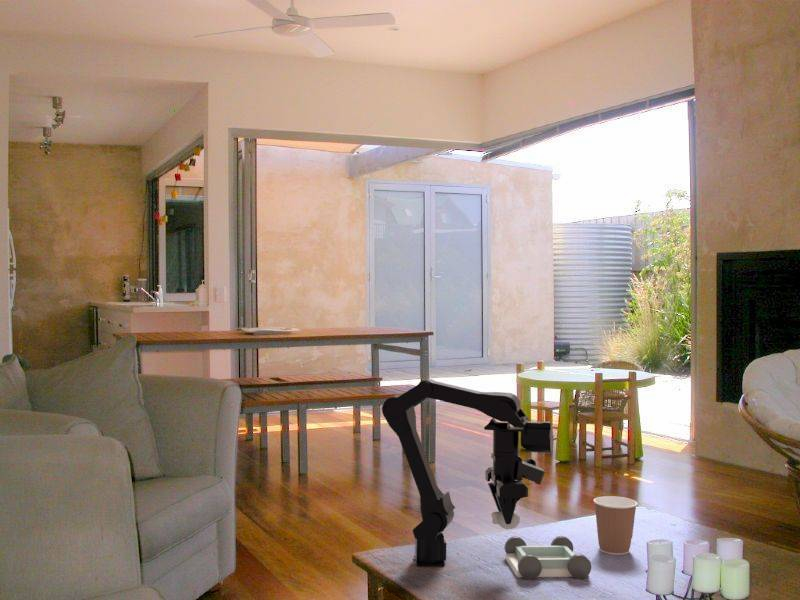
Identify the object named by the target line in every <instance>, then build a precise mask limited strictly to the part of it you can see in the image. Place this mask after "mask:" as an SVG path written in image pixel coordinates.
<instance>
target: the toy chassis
mask: <svg viewBox="0 0 800 600" xmlns="http://www.w3.org/2000/svg"><path fill="white" fill-rule="evenodd" d="M504 552H505V561H506V562H507V564H508V565H509V567H510V568H511V571H512V572H513V573H514V575H515V577H517V578H524V579H526V580H531V581H532V580H534V579H537V578H564V577H565V578H566V577H567V578H568V577H571V578H575V579H578V580H582V579H585V578H587V577H590V573H591V571H592V563H591V561H590V559H589V558H588V557H587V556H585V554H582V553H574V544H573V543H572V540H570V539H569V538H568V537H567V536H564V535H559V536H556V537H555V538H553V539H552V541H551V544H550V545H527V543H526V542H525V540H524V539H523V538H521V536H516V535H515V536H511V537H509V538H508V539H507V540H506V541H505V543H504Z"/></svg>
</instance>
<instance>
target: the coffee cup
mask: <svg viewBox="0 0 800 600" xmlns="http://www.w3.org/2000/svg"><path fill="white" fill-rule="evenodd" d="M593 503H594V509H595V518H596V520H595V521H596V530H597V541H598V542H597V543H598V547H599V550H600V552H602V553H603V554H607V555H615V556H624V555H627V554H629V553H630V549H631V545H632V539H633V534H634V528H635V527H634V525H635V515H636V510H637V506H638V502H637V501H636V500H634V499H632V498H628V497H623V496H615V495H614V496H612V495H611V496H610V495H604V496H599V497H595V498H593Z"/></svg>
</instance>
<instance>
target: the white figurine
mask: <svg viewBox="0 0 800 600" xmlns="http://www.w3.org/2000/svg"><path fill="white" fill-rule="evenodd" d="M515 508H517V505H516V506H515ZM515 510H516V509H515ZM515 510H514V513H513V517H512V521H511V524H506V523H505V521H504V518H503V515H502V512H501V511H500V512H499V511H493V512H491V518H492V521H491V522H492V524H493V525H498V526H499V527H501V528H502V529H504V530H512V529H513V530H514V529H515V528H517V527H518V526H519V524H520V521H521V517H520V515H519V514H518V513H516V512H515Z"/></svg>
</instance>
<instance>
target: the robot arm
mask: <svg viewBox="0 0 800 600" xmlns="http://www.w3.org/2000/svg"><path fill="white" fill-rule="evenodd" d="M427 399H431V400H436V401H439V402H444V403H449V404H453V405H458V406H461V407H465V408H470V409H474V410H476V411H479V412H480V413H482V414H484V415H486V416H488V417H490V418H491V419H490V420H489V422H488V423H487V424H486V425H485V426H484V427H483V428H484V429H483V430H485V431H492V452H491V454H490V455H491V456H490V457H491V459H492V466H489V467H488V468H487V469H486V470H485V471H484V472H485V478H484V479H485V481H486V482H488V483H487V486H488V488H489V490H490V493H491V496H492V498H493V500H494V503H495V506H496V509H497V510H498V511H497V512H500V511H501V512H502V515H503V518H504V521H505V523H506V524H511V521H512V517H513V513H514V512H515V511H514V510H516V507H517V503H518V502H519V501H520V500H521V499H523V498H528V497H529V488H528V486H527V485H526V484H525V483H524V482H522V481H523V479H525V480H528V481H531V482H534V483H535V484H537V485H541V483H542V481H543V478H544V476H545V473H546V471H545V470H544V469H543V468H542V467H540V466H538V465H537V463H536V460H535V459H533V458H530V457H527V458H526V459H525V460H523V458H522V456H521V455H520V446H521V448H522V449H525V452H527V453H541V454H544V453H545V454H553V452H554V451H553V450H554V443H555V442H554V441H555V440H554V436H555V435H554V431H553V426H552V424H553V422H552V421H548V420H547V421H530V419H529V418H528V416H527V415H526V413H525V412H524V411H523V409H522V408H521V407H522V406H521V400H520V399H519V398H518V396H517V394H514V393H512V392H501V391H500V392H498V391H487V392H486V391H479V390H475V389H470V388H466V387H461V386H457V385H453V384H449V383H444V382H441V381H436V380H434V379H433V378H427V379H424V380H421V381H420V382H419V383H418V384H417V385H415V386H414V387H412V388H410V389H409V390H407V391H406V392H404V393H399V394H396V395H392V396H391V397H388V398H387V399H386V400H385V401H384V402H383V404H382V406H381V413H382V416H383V417H384V419H385V421H386V423H387V424H388V426H389V428H390V429H391V430H392V431H393V432H394V434H396V436H397V437H398V439H399V442H400V445H401V448H402V450H403V453H404V456H405V458H406V461H407V464H408V466H409V468H410V472H411V474H412V477H413V481H414V483H415V485H416V488H417V491H418V494H419V503H420V504H419V505H420V506H419V507H420V515H421V521H420V522H419V523H417V524H416V526H415V527H414V528H413V529H412V533H413V537H414V541H415V542H414V555H413V558H414V562H415V565H416V566H418V567H437V566H439V567H443V566H445V565H446V561H447V541H446V540H445V536H444V534H443V532H444V531H445V529H446V528H447V527H448V526H449V525H450V524H451V523H452V521H453V520H454V517H455V512H454V511H455V509H456V506H455V505H454V504H453V502H452V500H451V494H450V492H449V491H446V492H445V493H443V492H442V490H441V489H440V488H439V487H438V485H437V484H438V483H437V482H436V479H435V476H434V473H433V471H432V468H431V465H430V463H429V459H428V458H427V454H426V452H425V449H424V446H423V444H422V441H421V439H420V436H419V434H418V430H417V416H416V410H415V407H416V406H418V405H419V404H421V403H423V402H424V401H426V400H427ZM519 445H520V446H519ZM515 506H516V507H515Z"/></svg>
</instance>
